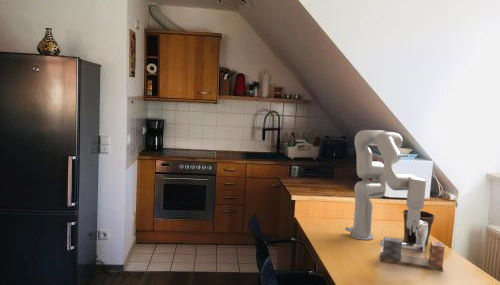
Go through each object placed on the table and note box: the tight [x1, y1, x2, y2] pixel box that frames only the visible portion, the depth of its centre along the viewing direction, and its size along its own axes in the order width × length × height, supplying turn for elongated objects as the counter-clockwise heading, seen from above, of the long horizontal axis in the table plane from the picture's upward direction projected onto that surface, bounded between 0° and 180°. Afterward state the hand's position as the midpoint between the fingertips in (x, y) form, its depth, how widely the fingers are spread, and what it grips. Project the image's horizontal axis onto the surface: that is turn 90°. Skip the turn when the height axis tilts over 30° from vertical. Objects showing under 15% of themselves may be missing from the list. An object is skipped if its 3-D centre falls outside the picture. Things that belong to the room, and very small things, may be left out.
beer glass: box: [414, 221, 428, 253], centre depth 209 cm, size 7×7×15 cm
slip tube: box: [379, 239, 424, 253], centre depth 193 cm, size 19×3×9 cm, turn 73°
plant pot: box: [402, 209, 436, 246], centre depth 222 cm, size 16×16×16 cm
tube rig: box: [379, 236, 445, 272], centre depth 192 cm, size 27×10×11 cm, turn 72°
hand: (411, 241), depth 192 cm, fingers closed on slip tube, 3 cm apart
